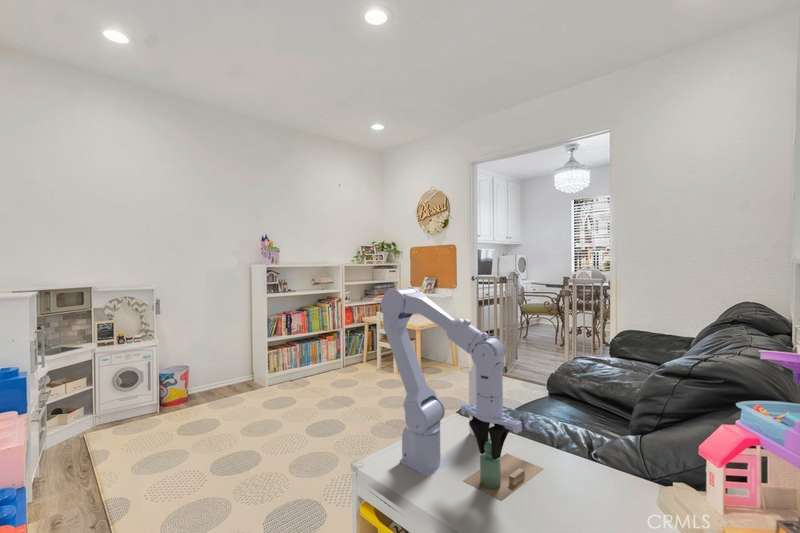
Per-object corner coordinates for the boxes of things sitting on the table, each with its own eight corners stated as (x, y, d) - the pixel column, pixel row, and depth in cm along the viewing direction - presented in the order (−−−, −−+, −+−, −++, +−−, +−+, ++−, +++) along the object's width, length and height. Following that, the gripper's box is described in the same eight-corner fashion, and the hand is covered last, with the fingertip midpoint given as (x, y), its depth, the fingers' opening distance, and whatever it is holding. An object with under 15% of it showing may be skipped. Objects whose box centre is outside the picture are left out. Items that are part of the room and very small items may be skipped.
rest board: (462, 483, 84) (462, 472, 84) (506, 455, 96) (506, 446, 96) (501, 503, 77) (501, 492, 77) (543, 471, 89) (543, 460, 89)
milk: (487, 442, 104) (486, 362, 104) (469, 435, 108) (468, 359, 108) (498, 434, 108) (497, 358, 108) (480, 428, 112) (479, 355, 112)
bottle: (476, 483, 83) (475, 441, 83) (487, 476, 86) (487, 435, 86) (493, 492, 80) (492, 448, 80) (504, 484, 83) (504, 441, 83)
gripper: (528, 397, 80) (529, 460, 80) (473, 382, 91) (474, 438, 91) (510, 405, 75) (511, 473, 75) (454, 388, 86) (455, 447, 86)
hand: (490, 454), depth 83 cm, fingers closed on bottle, 3 cm apart
